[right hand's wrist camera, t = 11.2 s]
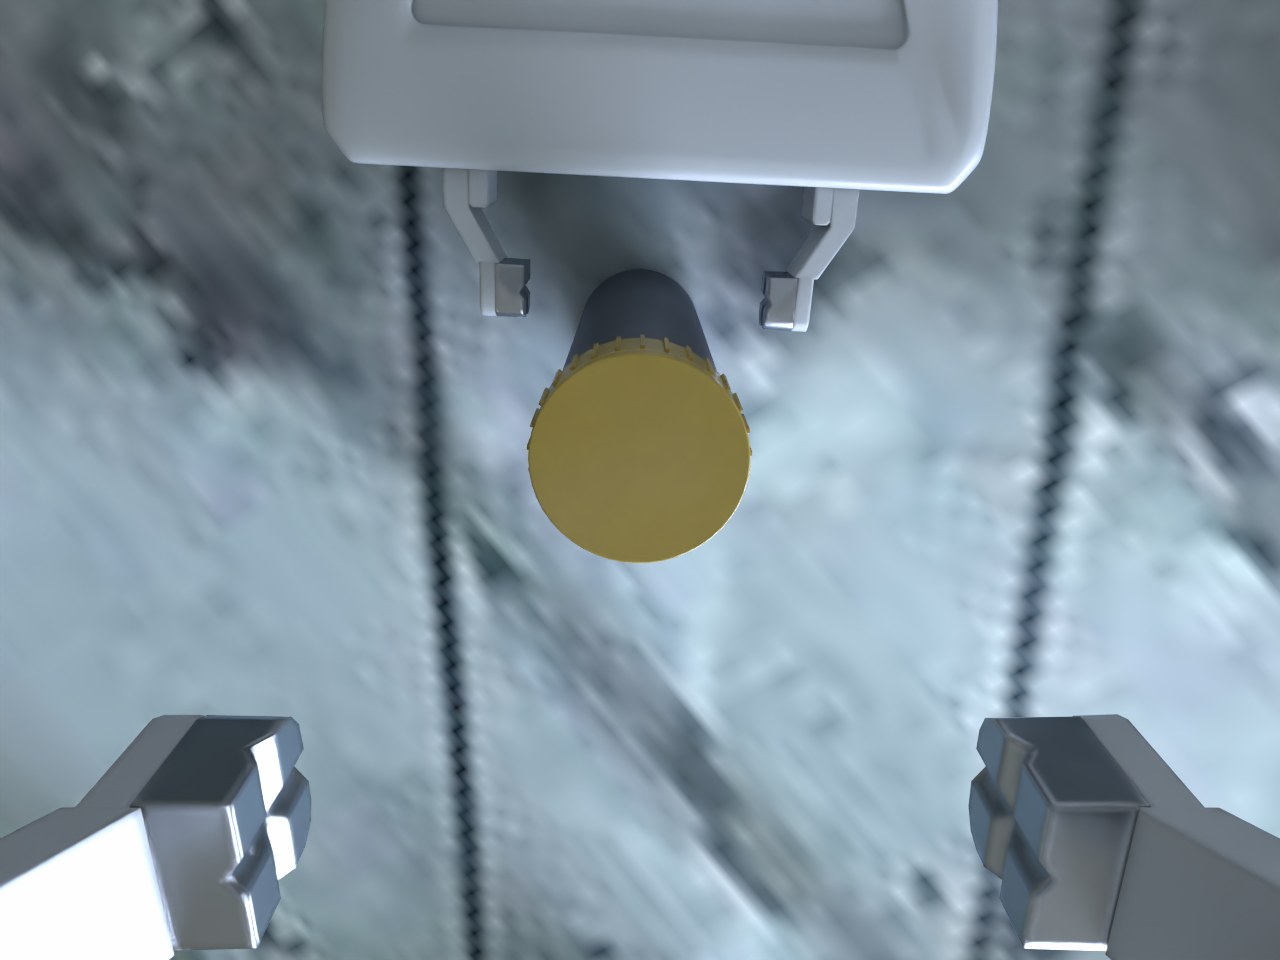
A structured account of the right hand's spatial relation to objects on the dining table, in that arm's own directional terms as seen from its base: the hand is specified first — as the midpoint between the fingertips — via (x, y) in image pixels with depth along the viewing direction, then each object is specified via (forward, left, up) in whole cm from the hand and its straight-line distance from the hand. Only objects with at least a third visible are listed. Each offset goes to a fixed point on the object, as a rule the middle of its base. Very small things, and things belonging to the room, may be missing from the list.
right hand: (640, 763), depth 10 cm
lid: (0, 0, -11) cm, 11 cm away
